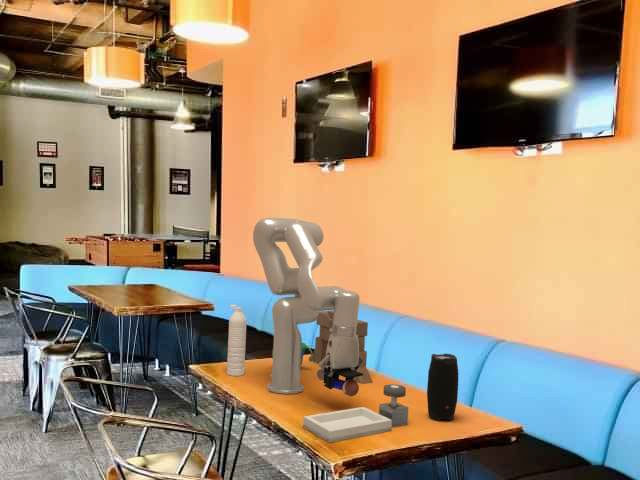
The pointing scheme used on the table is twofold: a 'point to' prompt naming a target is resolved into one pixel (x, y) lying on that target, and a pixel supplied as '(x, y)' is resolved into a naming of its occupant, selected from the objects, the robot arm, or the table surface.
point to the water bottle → (236, 343)
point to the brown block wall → (321, 342)
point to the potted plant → (302, 352)
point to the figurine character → (347, 386)
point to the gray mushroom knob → (394, 393)
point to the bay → (346, 424)
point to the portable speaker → (442, 386)
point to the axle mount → (394, 413)
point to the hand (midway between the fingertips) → (338, 386)
